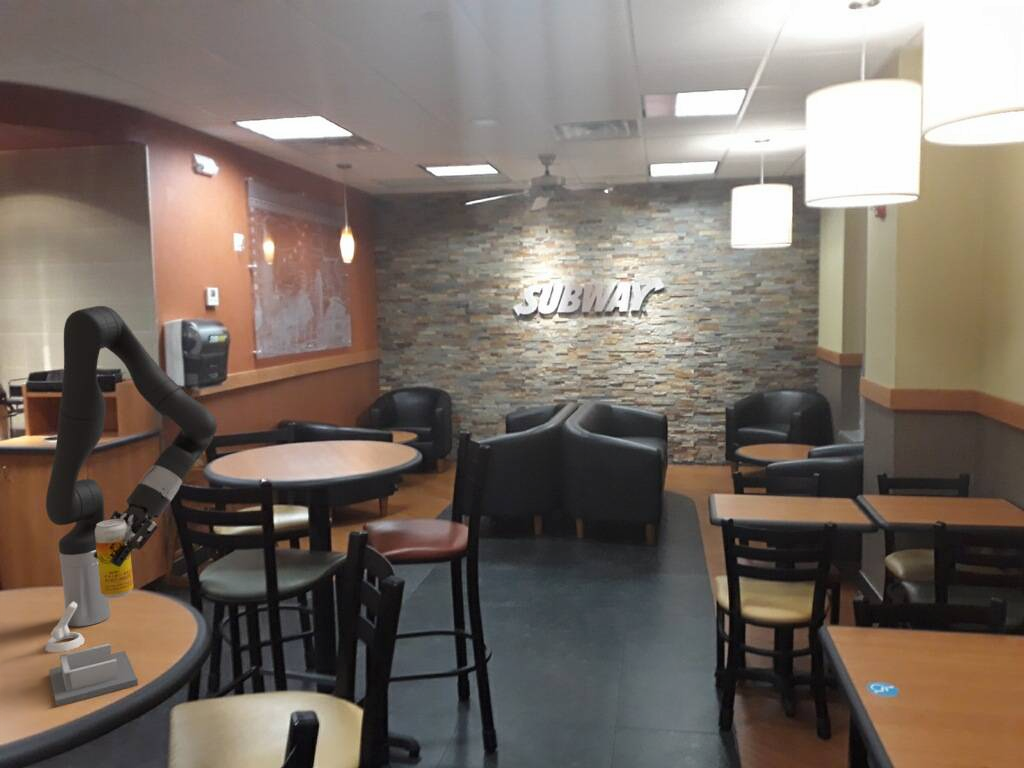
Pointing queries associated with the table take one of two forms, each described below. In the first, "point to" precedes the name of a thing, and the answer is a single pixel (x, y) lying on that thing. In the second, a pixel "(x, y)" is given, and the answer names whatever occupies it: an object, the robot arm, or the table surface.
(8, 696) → the table surface
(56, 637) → the hook
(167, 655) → the table surface
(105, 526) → the beer can
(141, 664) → the table surface
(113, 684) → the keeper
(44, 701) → the table surface
